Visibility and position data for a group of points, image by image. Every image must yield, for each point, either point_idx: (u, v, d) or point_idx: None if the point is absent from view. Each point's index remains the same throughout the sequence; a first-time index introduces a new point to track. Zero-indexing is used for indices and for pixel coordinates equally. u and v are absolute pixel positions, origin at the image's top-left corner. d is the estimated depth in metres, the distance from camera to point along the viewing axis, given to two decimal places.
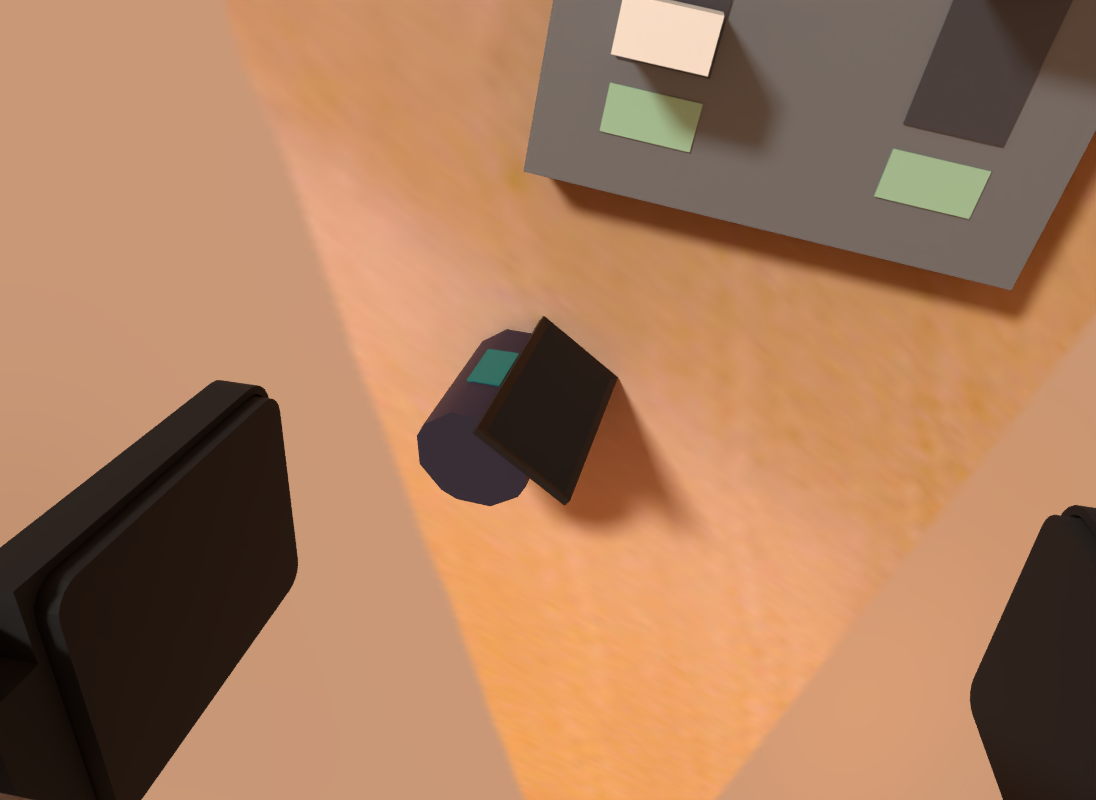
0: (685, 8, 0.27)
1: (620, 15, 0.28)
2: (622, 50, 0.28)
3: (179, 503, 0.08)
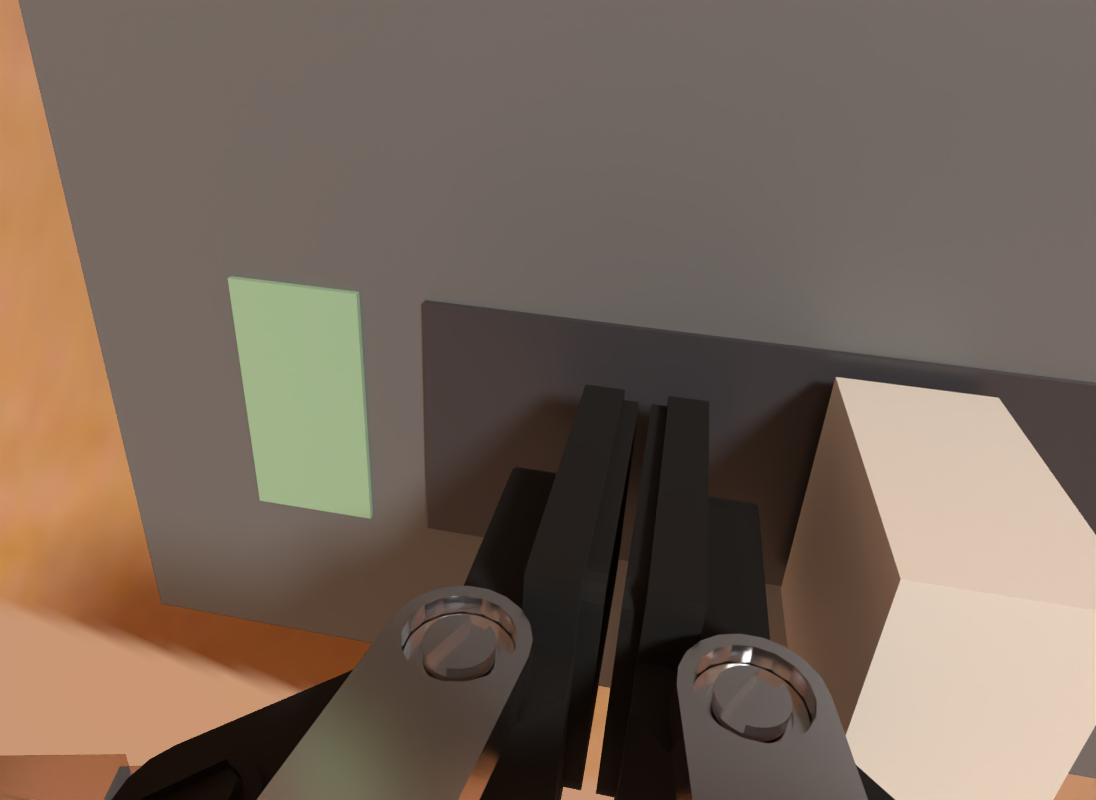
0: None
1: None
2: None
3: (621, 501, 0.08)
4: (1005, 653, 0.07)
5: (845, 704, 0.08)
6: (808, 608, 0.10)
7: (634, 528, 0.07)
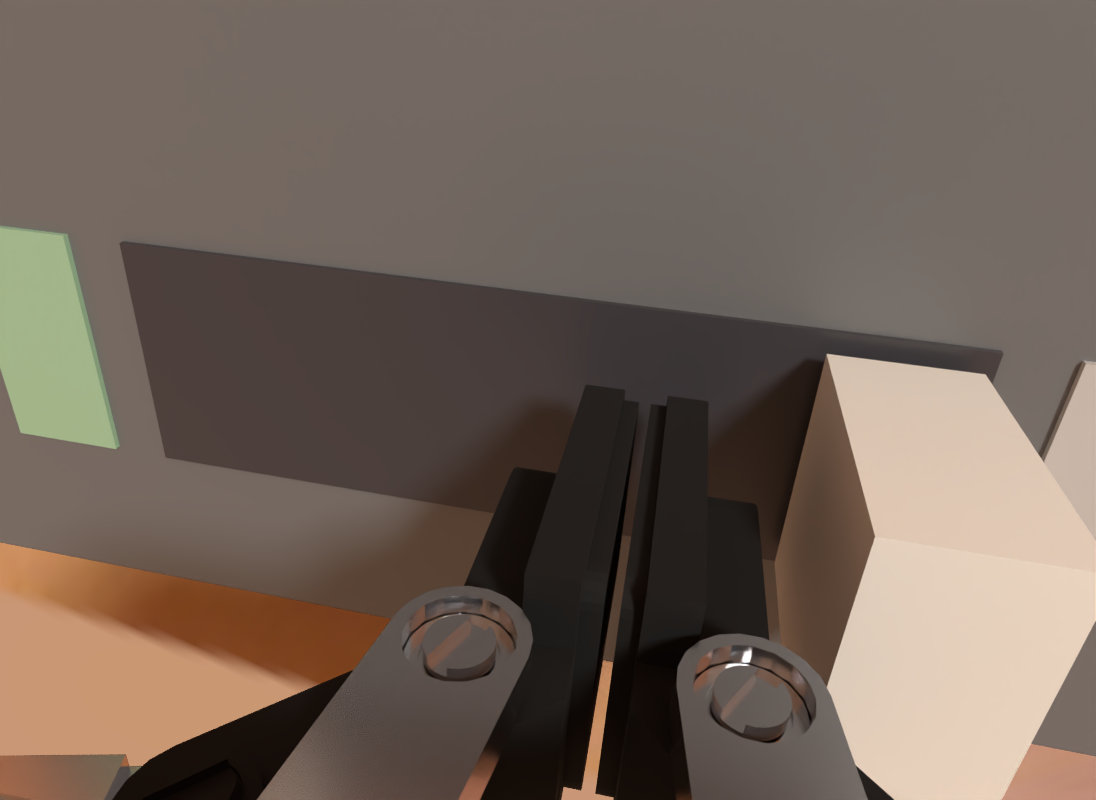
0: None
1: None
2: None
3: (622, 501, 0.08)
4: (976, 609, 0.07)
5: (826, 662, 0.08)
6: (797, 577, 0.10)
7: (633, 528, 0.07)
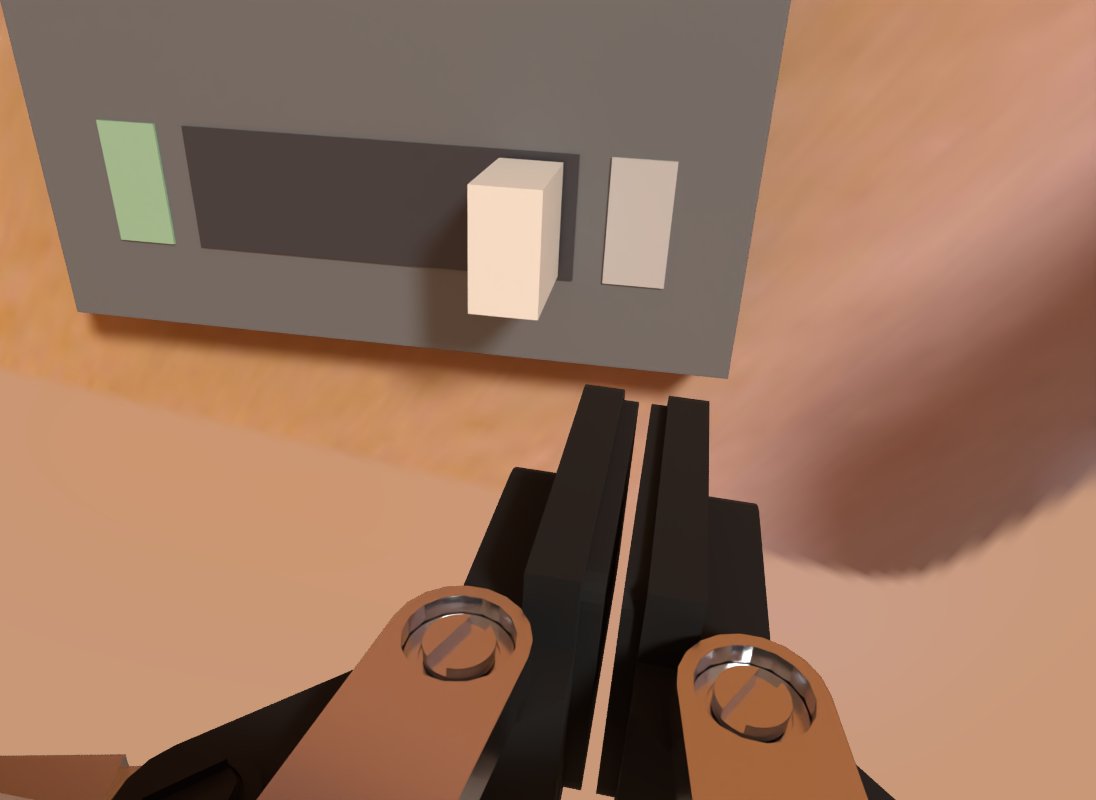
0: None
1: None
2: None
3: (621, 501, 0.08)
4: (505, 211, 0.20)
5: (469, 250, 0.21)
6: None
7: (634, 528, 0.07)
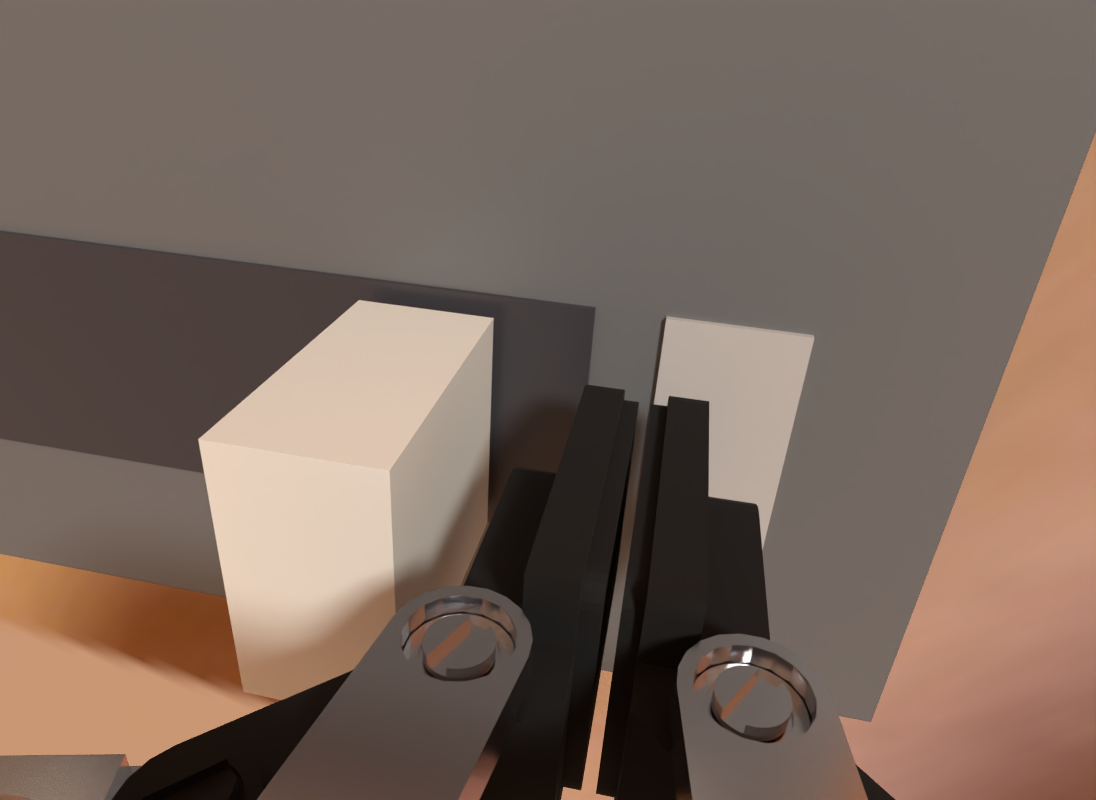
0: None
1: None
2: None
3: (622, 501, 0.08)
4: (300, 506, 0.08)
5: (235, 566, 0.09)
6: None
7: (634, 528, 0.07)
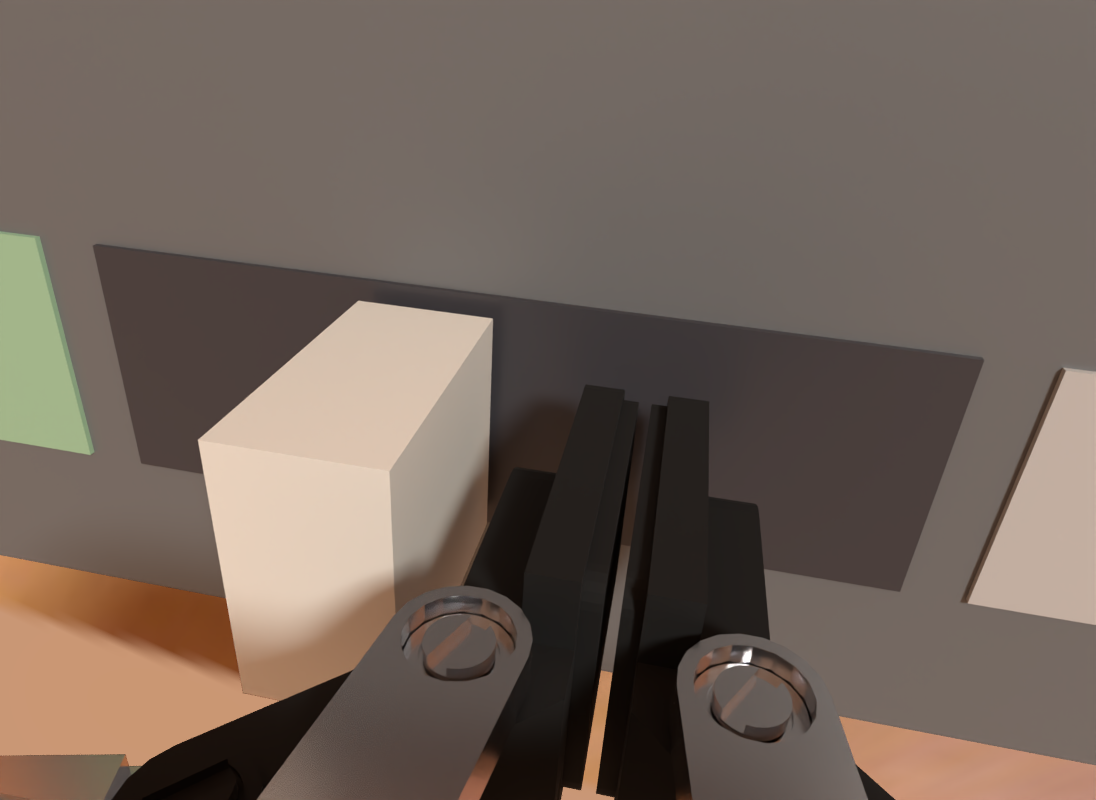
0: None
1: None
2: None
3: (622, 501, 0.08)
4: (300, 507, 0.08)
5: (234, 567, 0.09)
6: None
7: (634, 528, 0.07)
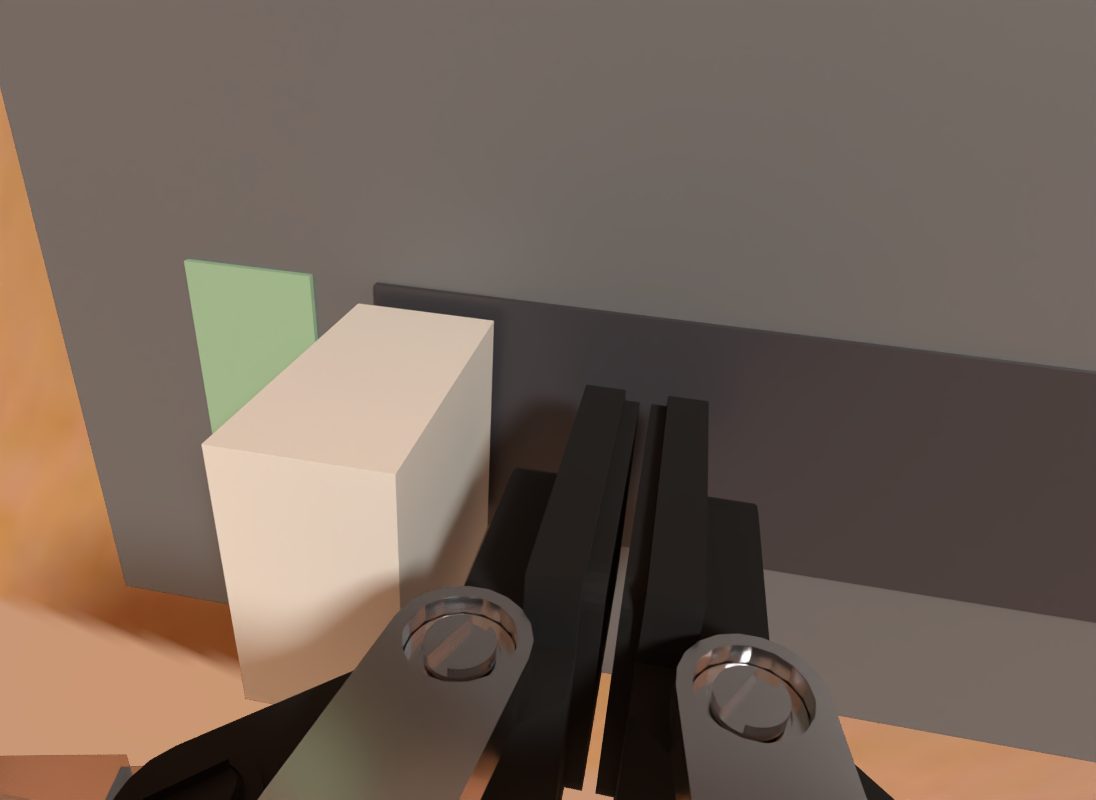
0: None
1: None
2: None
3: (622, 501, 0.08)
4: (305, 511, 0.08)
5: (237, 571, 0.09)
6: None
7: (633, 528, 0.07)
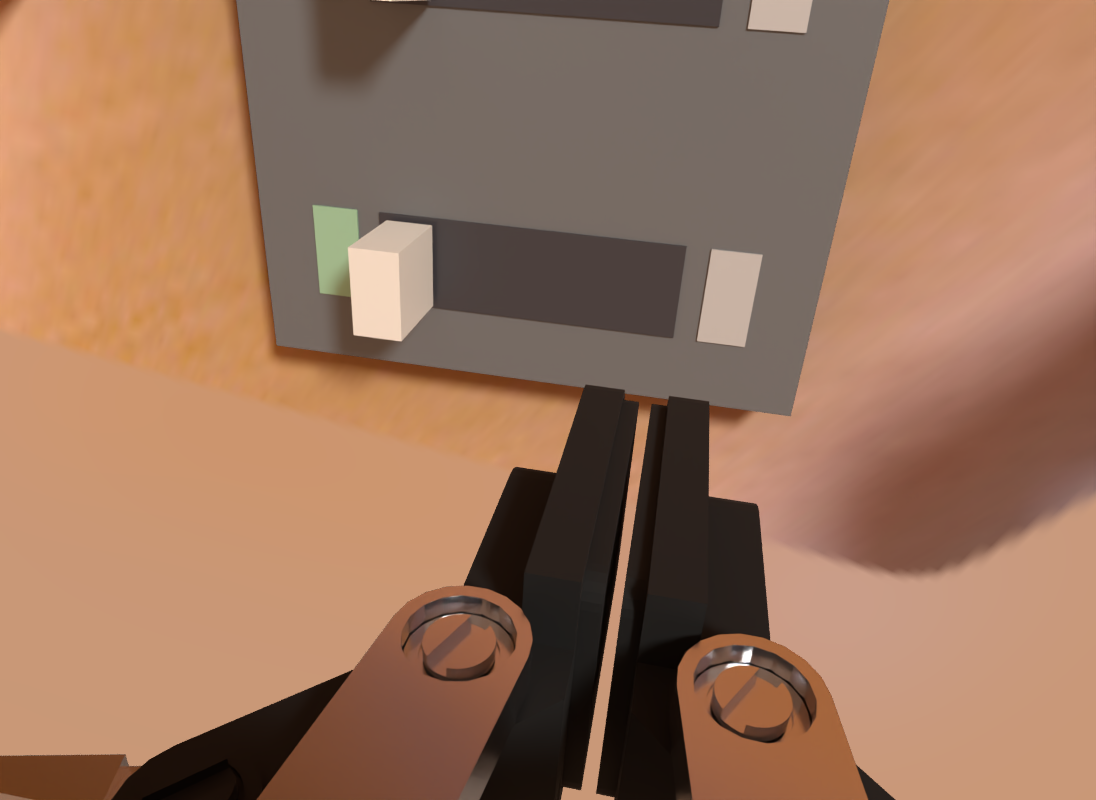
0: None
1: None
2: None
3: (622, 501, 0.08)
4: (374, 266, 0.29)
5: (353, 291, 0.30)
6: None
7: (634, 528, 0.07)
